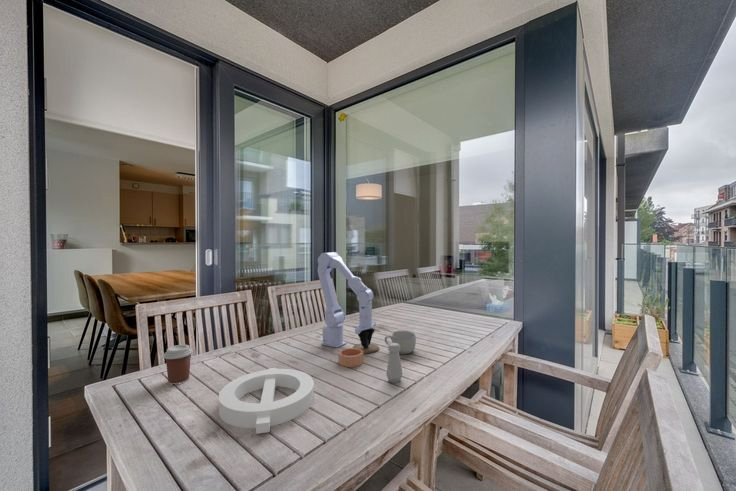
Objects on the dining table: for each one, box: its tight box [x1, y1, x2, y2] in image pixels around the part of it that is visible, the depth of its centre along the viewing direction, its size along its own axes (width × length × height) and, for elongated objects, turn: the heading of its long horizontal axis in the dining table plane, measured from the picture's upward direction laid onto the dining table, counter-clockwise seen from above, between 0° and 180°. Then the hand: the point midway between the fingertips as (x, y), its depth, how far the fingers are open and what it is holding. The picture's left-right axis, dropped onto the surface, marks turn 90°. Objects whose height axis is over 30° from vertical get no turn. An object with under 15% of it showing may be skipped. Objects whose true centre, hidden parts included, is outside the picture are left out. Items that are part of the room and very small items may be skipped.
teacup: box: [384, 330, 417, 355], centre depth 141 cm, size 14×11×8 cm
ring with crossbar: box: [218, 367, 315, 435], centre depth 98 cm, size 28×28×5 cm
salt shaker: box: [385, 342, 404, 384], centre depth 112 cm, size 6×6×13 cm
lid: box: [352, 339, 380, 355], centre depth 145 cm, size 12×12×4 cm
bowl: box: [338, 347, 364, 368], centre depth 129 cm, size 10×10×4 cm
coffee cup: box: [163, 344, 194, 385], centre depth 113 cm, size 9×9×12 cm
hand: (365, 345), depth 145 cm, fingers closed on lid, 2 cm apart
